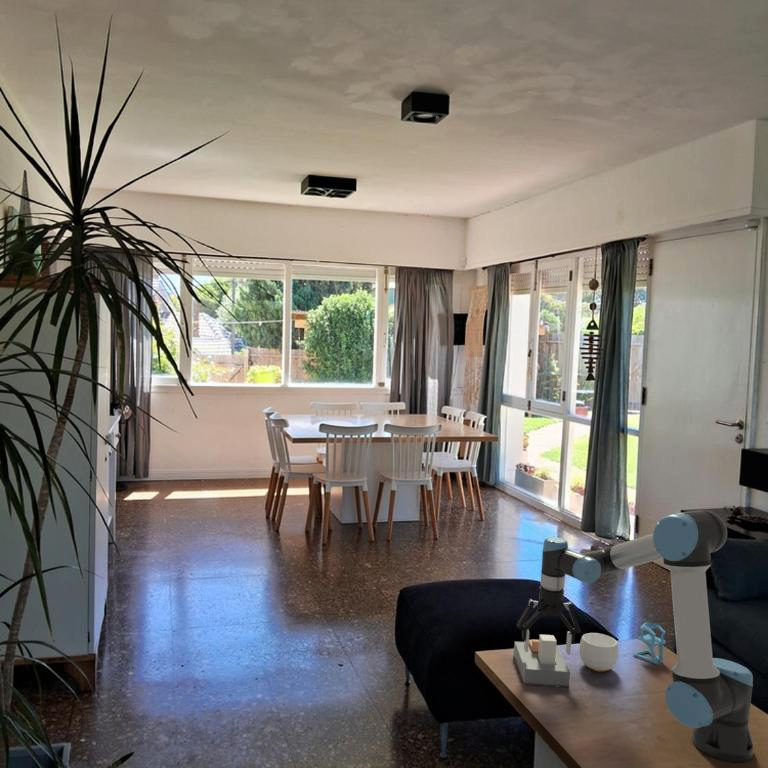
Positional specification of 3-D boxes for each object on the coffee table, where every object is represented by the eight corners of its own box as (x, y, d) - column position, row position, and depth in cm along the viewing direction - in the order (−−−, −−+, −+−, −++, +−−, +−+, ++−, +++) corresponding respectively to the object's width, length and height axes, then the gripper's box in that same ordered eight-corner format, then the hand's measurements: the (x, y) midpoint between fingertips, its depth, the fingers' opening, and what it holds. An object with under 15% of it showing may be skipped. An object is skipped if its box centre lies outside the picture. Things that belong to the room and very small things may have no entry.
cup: (620, 666, 243) (623, 638, 242) (611, 680, 232) (614, 651, 232) (583, 656, 249) (586, 628, 248) (573, 669, 239) (575, 641, 238)
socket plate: (568, 687, 226) (570, 671, 225) (523, 684, 226) (525, 668, 226) (554, 658, 246) (555, 644, 245) (513, 655, 246) (514, 641, 246)
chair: (652, 666, 245) (656, 631, 244) (632, 655, 252) (636, 622, 251) (667, 661, 249) (670, 628, 248) (647, 651, 256) (650, 618, 255)
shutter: (553, 653, 238) (554, 642, 237) (532, 651, 238) (533, 641, 237) (549, 643, 245) (549, 633, 244) (528, 642, 245) (529, 632, 244)
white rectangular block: (553, 677, 231) (556, 641, 230) (539, 676, 231) (542, 640, 230) (550, 671, 235) (553, 635, 234) (536, 670, 235) (539, 634, 234)
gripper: (588, 585, 234) (582, 648, 236) (511, 580, 235) (506, 643, 236) (594, 593, 227) (588, 659, 228) (515, 588, 227) (510, 654, 229)
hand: (546, 651), depth 232 cm, fingers open, 13 cm apart
